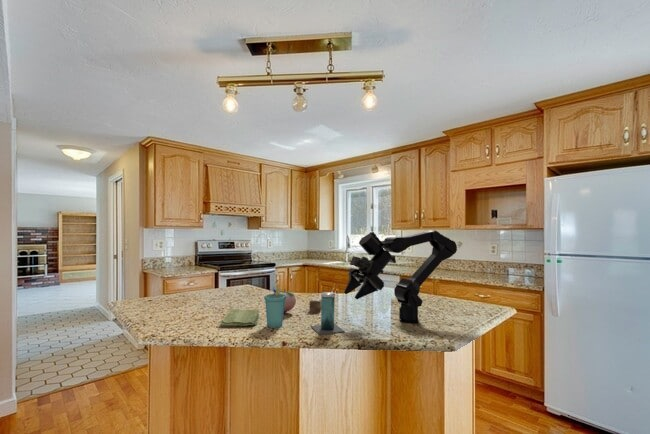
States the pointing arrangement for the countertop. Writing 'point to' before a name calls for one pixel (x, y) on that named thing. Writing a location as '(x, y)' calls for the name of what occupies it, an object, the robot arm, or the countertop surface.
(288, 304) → the decorative fruit
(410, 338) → the countertop surface
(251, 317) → the washcloth
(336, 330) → the mat
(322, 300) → the tin
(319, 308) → the letter block
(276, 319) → the cup
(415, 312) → the robot arm
